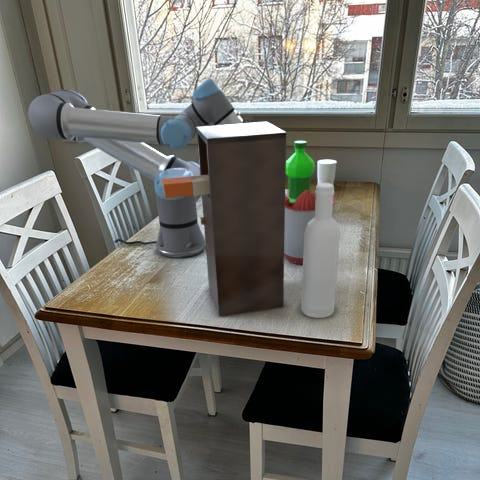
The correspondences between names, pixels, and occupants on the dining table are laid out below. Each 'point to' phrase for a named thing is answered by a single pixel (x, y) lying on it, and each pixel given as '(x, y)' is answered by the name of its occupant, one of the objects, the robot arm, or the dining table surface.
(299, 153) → the plastic bottle
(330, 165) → the white cup
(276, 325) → the dining table surface
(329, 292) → the bottle
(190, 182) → the block
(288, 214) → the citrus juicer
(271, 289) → the cupboard
